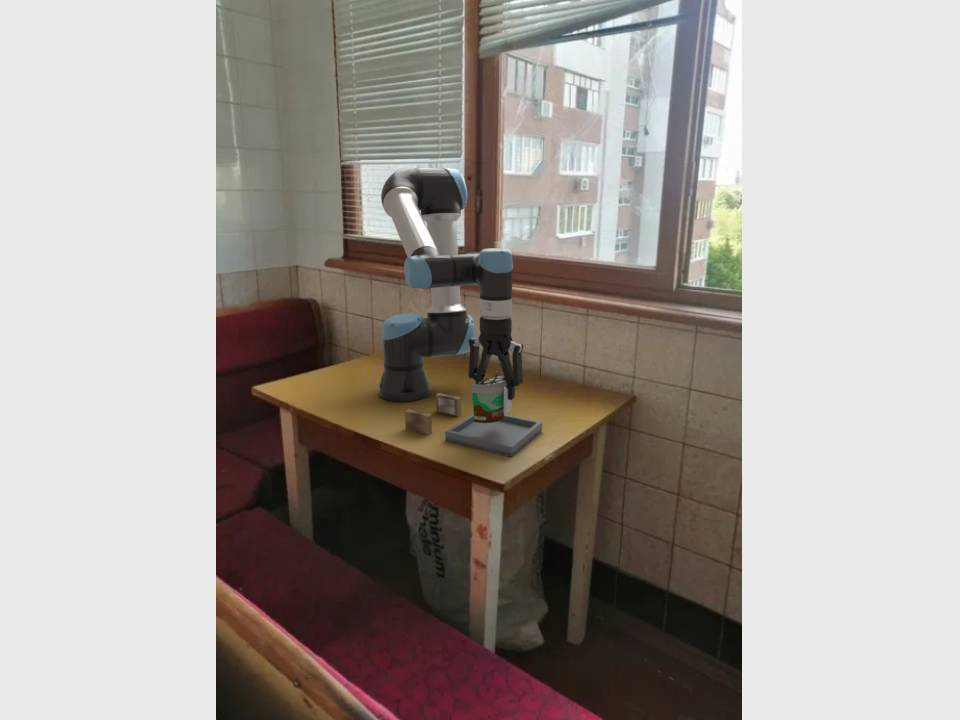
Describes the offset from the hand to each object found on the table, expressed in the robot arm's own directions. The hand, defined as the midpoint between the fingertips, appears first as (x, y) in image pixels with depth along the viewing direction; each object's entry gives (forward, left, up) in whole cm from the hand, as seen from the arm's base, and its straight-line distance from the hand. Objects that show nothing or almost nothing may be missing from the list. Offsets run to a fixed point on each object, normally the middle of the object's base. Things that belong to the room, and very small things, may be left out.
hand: (495, 408), depth 143 cm
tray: (0, 0, -7) cm, 7 cm away
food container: (0, 0, -3) cm, 3 cm away
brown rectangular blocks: (-18, 0, -7) cm, 19 cm away
